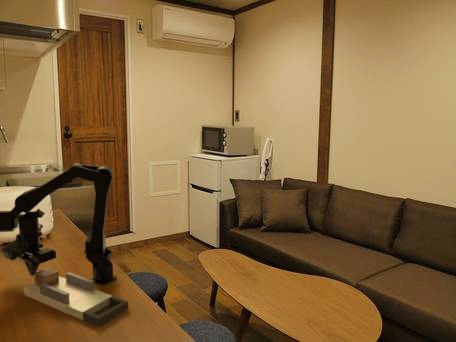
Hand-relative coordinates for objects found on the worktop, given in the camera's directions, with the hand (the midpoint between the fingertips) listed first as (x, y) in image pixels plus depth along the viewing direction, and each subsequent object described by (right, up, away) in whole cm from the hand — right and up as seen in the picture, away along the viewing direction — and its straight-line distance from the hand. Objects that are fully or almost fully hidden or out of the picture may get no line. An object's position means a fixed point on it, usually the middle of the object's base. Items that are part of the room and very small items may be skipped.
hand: (32, 275), depth 129 cm
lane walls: (+15, -3, -9) cm, 18 cm away
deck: (+14, -5, -8) cm, 17 cm away
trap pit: (+30, -7, -16) cm, 35 cm away
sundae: (-14, +2, +30) cm, 33 cm away
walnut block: (+7, -2, -4) cm, 8 cm away
